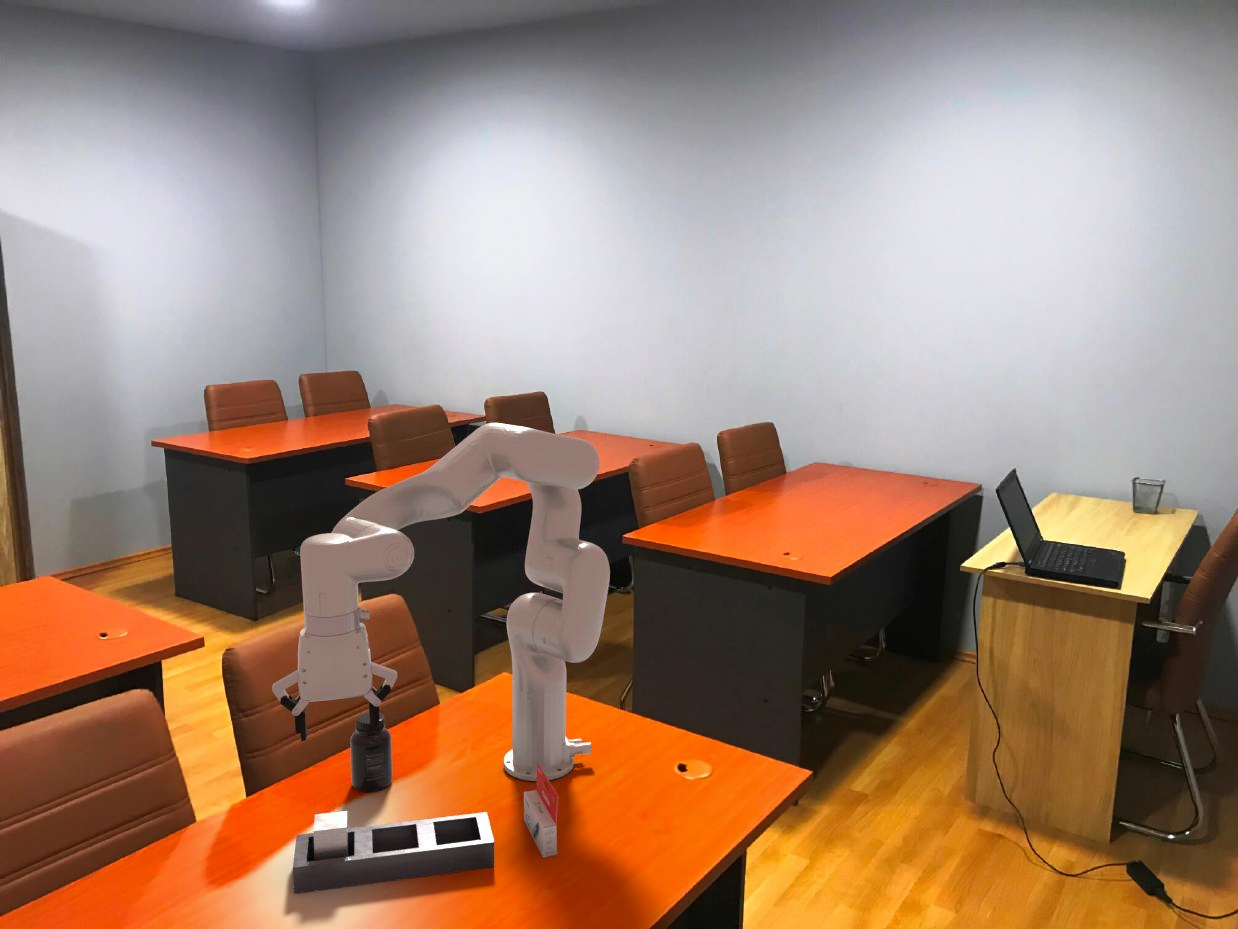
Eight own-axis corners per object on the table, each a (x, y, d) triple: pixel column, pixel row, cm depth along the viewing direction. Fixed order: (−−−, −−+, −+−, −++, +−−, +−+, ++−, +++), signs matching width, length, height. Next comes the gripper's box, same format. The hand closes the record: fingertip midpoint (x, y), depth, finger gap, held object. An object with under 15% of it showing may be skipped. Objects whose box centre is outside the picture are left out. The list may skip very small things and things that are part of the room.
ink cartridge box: (542, 859, 143) (542, 798, 141) (522, 821, 153) (523, 764, 152) (558, 855, 144) (558, 795, 142) (537, 818, 154) (538, 762, 153)
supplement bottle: (398, 775, 167) (396, 710, 165) (384, 794, 160) (383, 727, 158) (360, 772, 168) (358, 708, 166) (345, 792, 161) (343, 725, 159)
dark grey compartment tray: (486, 835, 149) (486, 812, 148) (494, 867, 141) (494, 842, 140) (297, 859, 141) (296, 834, 141) (293, 894, 133) (292, 867, 133)
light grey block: (348, 861, 141) (347, 811, 140) (348, 878, 137) (346, 827, 136) (316, 864, 140) (315, 814, 139) (315, 882, 136) (313, 831, 135)
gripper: (393, 607, 142) (398, 714, 145) (269, 617, 137) (277, 728, 140) (396, 624, 135) (401, 736, 138) (265, 636, 130) (274, 752, 133)
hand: (338, 732), depth 139 cm, fingers open, 9 cm apart
